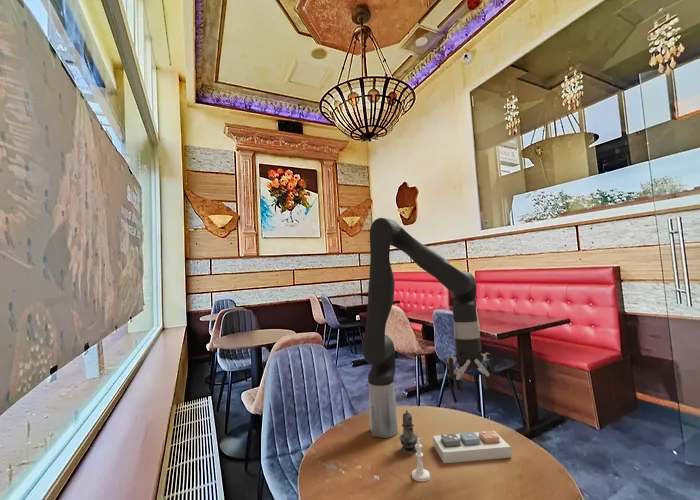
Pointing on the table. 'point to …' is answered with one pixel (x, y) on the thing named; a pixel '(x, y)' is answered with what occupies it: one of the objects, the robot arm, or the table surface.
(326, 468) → the table surface
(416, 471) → the chess piece
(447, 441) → the three-dot button
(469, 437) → the one-dot button
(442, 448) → the button panel
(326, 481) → the table surface
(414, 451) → the dark grey tall piece
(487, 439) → the two-dot button
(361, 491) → the table surface
